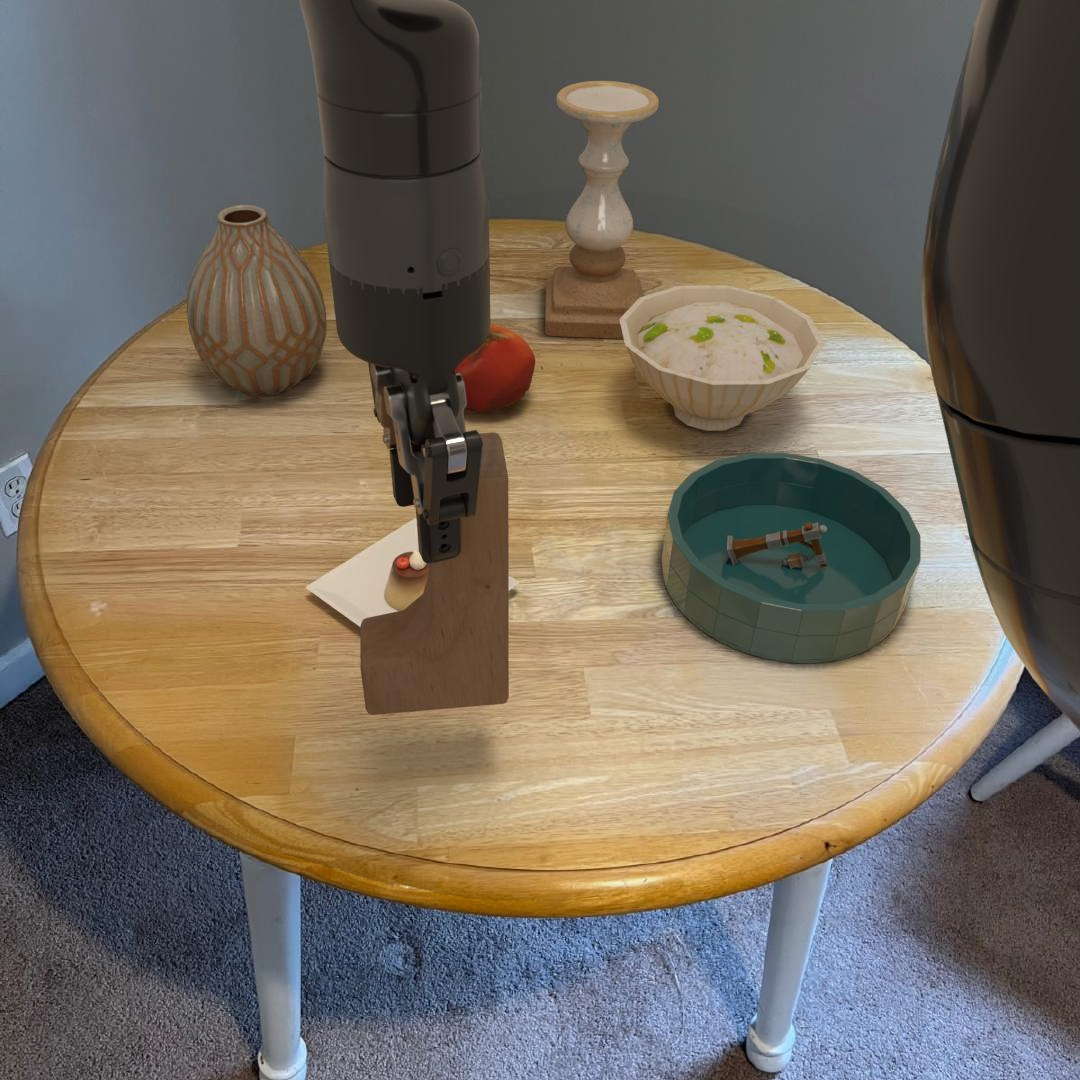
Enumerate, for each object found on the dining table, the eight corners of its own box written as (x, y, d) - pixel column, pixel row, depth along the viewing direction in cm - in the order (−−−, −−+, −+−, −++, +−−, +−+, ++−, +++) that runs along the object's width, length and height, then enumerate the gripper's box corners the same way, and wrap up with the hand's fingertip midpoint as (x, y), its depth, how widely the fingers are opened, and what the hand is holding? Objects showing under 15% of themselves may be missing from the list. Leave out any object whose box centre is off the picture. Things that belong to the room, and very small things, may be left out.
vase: (239, 429, 104) (208, 258, 93) (178, 371, 112) (143, 207, 100) (357, 385, 111) (341, 220, 99) (292, 333, 118) (271, 175, 107)
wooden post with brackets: (838, 569, 89) (825, 527, 86) (741, 587, 92) (726, 547, 89) (837, 555, 90) (824, 513, 88) (742, 573, 93) (726, 533, 90)
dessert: (306, 597, 87) (299, 551, 83) (416, 527, 94) (413, 482, 90) (410, 673, 81) (407, 626, 78) (520, 592, 88) (521, 546, 85)
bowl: (584, 375, 113) (589, 287, 107) (752, 349, 118) (766, 263, 112) (657, 483, 99) (668, 389, 93) (844, 449, 104) (866, 357, 98)
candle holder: (644, 339, 119) (666, 117, 104) (544, 336, 119) (551, 113, 104) (640, 292, 127) (660, 80, 112) (546, 289, 128) (553, 76, 112)
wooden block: (366, 718, 68) (337, 486, 57) (365, 666, 72) (338, 438, 60) (509, 706, 69) (509, 476, 58) (502, 655, 73) (500, 429, 61)
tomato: (505, 366, 114) (505, 297, 109) (552, 408, 108) (555, 337, 103) (426, 390, 110) (422, 319, 105) (471, 435, 104) (470, 362, 99)
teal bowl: (954, 627, 86) (974, 575, 82) (734, 690, 80) (745, 637, 77) (819, 484, 100) (830, 434, 96) (623, 530, 94) (628, 478, 90)
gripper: (298, 197, 55) (333, 471, 66) (368, 329, 45) (395, 627, 56) (441, 179, 57) (452, 447, 68) (538, 301, 47) (533, 593, 58)
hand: (426, 527), depth 62 cm, fingers closed on wooden block, 4 cm apart
